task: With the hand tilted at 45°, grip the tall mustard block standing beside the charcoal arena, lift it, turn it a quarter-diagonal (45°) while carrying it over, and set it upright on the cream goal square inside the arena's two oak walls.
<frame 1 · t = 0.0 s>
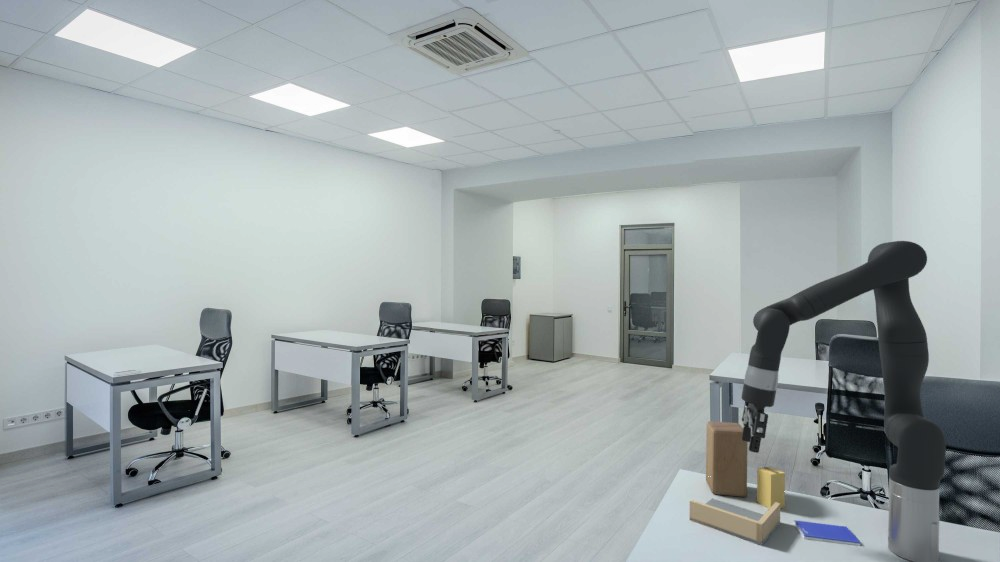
hand: (749, 446, 127), 22 cm above the table, tool pointing down, fingers open, 8 cm apart
mustard block: (770, 504, 143), on the table
arena: (734, 521, 133), on the table
hard drive: (825, 536, 127), on the table
wooden block: (725, 490, 153), on the table
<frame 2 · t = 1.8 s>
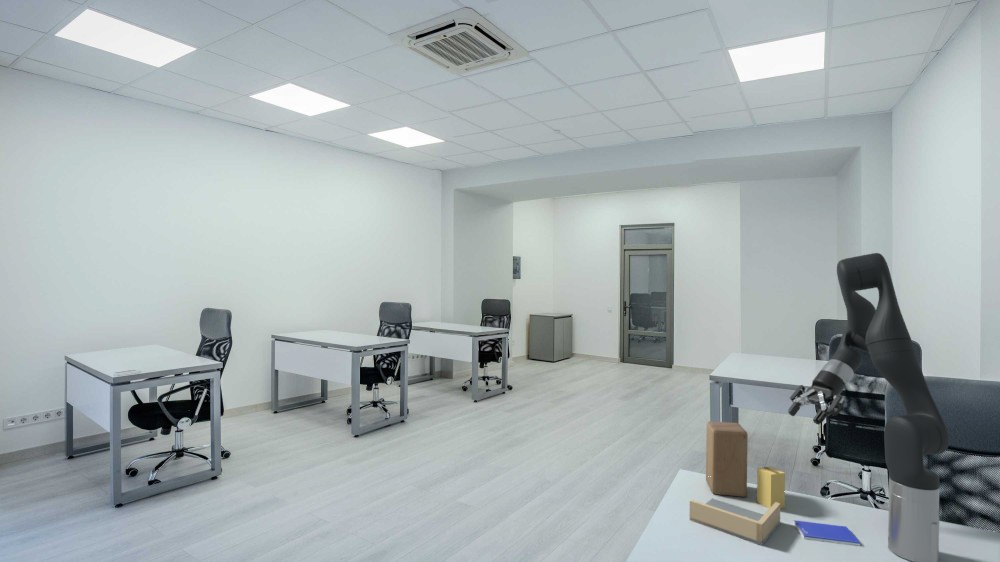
hand: (802, 418, 146), 24 cm above the table, tool tilted 45°, fingers open, 8 cm apart
nothing on the table moved.
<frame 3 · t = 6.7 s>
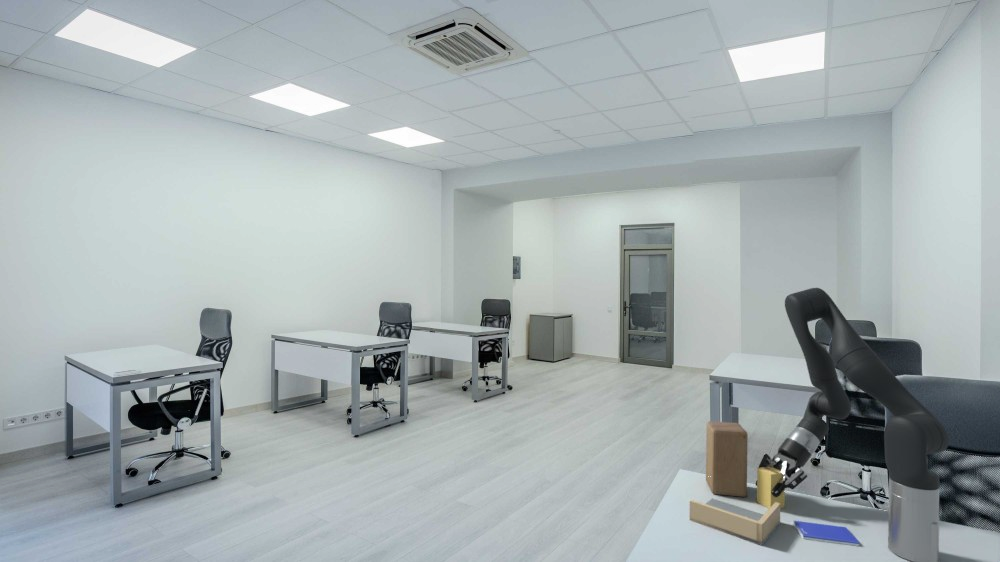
hand: (765, 490, 142), 4 cm above the table, tool tilted 45°, fingers closed on mustard block, 5 cm apart
mustard block: (770, 504, 143), on the table, touching gripper
everything else where it was.
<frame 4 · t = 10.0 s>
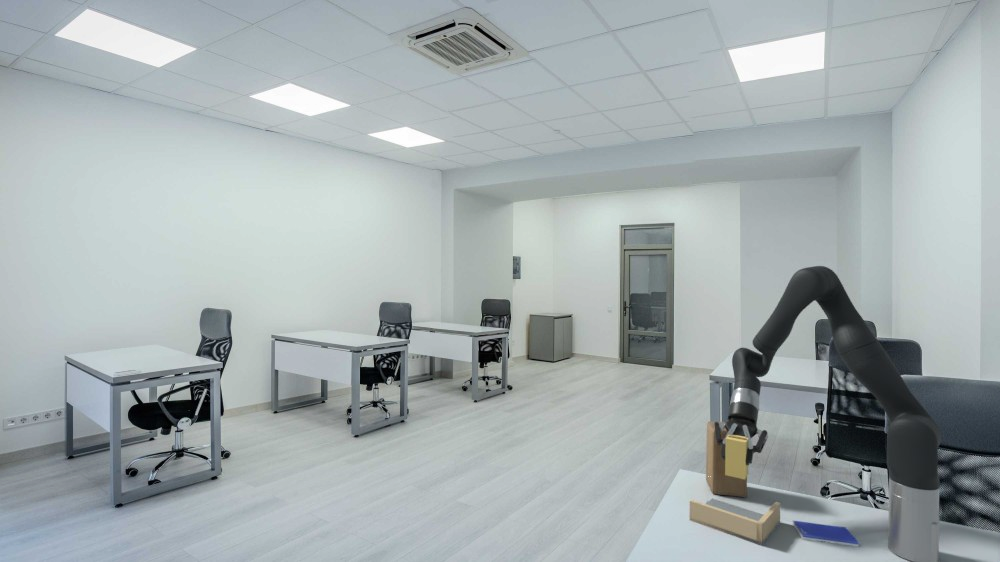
hand: (735, 461, 133), 16 cm above the table, tool tilted 45°, fingers closed on mustard block, 5 cm apart
mustard block: (736, 474, 135), point 12 cm above the table, touching gripper
everything else where it was.
when the fingers open (6 cm above the table, at t = 13.1 s): mustard block stays where it is, resting on arena.
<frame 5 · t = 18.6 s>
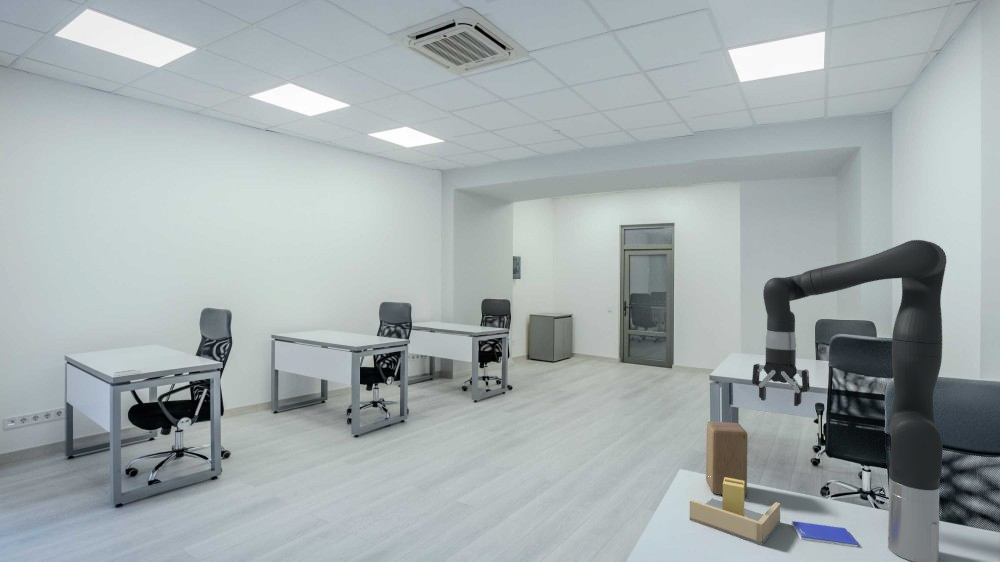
hand: (779, 402, 141), 30 cm above the table, tool pointing down, fingers open, 8 cm apart
mustard block: (733, 519, 132), point 1 cm above the table, touching arena
at the end: mustard block 0.1 cm from the target spot on the arena, point 0.9 cm above the arena's base; mustard block tilted 0°; the gripper is holding nothing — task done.
